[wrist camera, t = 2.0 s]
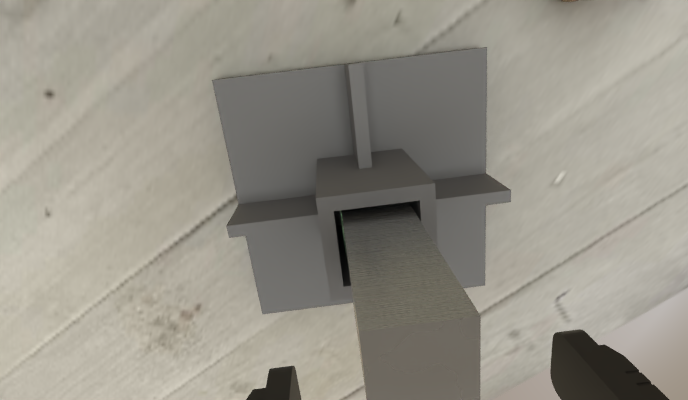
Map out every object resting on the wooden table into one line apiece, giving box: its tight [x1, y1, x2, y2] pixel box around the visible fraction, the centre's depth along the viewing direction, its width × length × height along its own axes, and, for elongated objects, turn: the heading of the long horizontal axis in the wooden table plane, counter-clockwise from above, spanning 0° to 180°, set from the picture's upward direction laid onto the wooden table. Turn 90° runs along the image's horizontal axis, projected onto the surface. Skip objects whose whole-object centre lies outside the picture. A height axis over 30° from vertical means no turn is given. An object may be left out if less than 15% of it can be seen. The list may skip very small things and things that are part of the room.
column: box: [340, 202, 480, 400], centre depth 20 cm, size 4×4×17 cm
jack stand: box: [212, 47, 511, 314], centre depth 24 cm, size 18×18×12 cm
